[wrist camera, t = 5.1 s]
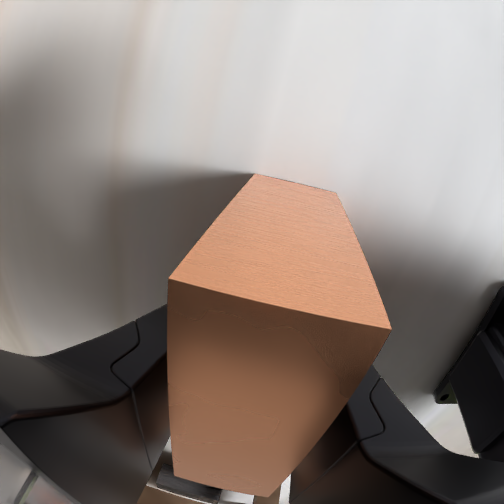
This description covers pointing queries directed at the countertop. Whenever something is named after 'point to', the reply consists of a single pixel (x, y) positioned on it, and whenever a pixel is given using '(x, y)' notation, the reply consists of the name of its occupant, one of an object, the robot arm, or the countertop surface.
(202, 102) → the countertop surface
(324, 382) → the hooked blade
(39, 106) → the countertop surface
